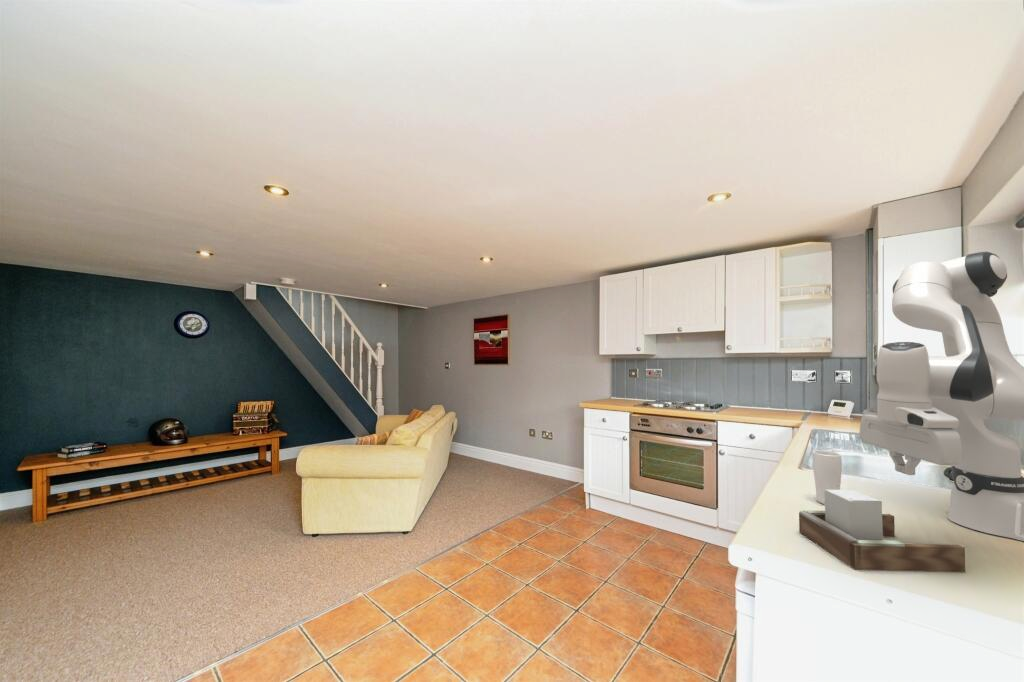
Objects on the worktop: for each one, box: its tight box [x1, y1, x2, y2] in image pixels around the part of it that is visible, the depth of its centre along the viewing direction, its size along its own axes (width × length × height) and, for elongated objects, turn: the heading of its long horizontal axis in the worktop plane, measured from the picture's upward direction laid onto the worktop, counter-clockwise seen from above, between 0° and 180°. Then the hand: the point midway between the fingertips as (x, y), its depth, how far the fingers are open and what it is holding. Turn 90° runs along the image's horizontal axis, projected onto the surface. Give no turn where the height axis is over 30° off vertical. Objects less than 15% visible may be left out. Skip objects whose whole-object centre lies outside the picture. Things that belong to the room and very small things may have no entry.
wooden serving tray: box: [798, 509, 967, 573], centre depth 88 cm, size 22×17×6 cm
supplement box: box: [824, 489, 884, 540], centre depth 88 cm, size 7×7×13 cm
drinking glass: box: [812, 449, 843, 505], centre depth 115 cm, size 7×7×15 cm
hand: (905, 473), depth 88 cm, fingers closed
